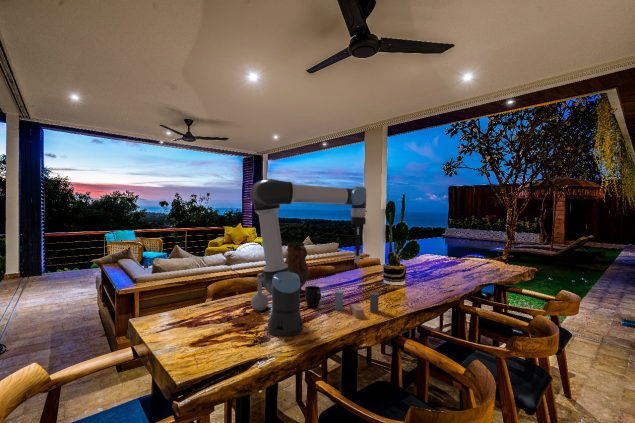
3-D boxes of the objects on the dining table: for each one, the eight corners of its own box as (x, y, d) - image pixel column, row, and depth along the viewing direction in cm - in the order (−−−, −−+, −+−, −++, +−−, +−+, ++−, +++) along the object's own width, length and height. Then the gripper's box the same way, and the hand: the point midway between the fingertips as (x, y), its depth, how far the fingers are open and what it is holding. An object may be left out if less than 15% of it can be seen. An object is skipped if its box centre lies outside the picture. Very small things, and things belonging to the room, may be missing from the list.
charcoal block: (378, 312, 149) (378, 295, 149) (370, 312, 149) (370, 294, 149) (377, 310, 153) (378, 292, 153) (369, 309, 153) (370, 292, 153)
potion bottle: (271, 308, 152) (272, 273, 152) (257, 312, 146) (257, 276, 145) (261, 304, 158) (261, 270, 158) (247, 308, 152) (247, 273, 151)
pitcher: (300, 286, 194) (301, 240, 193) (316, 295, 176) (317, 244, 175) (276, 289, 185) (277, 242, 185) (291, 299, 167) (292, 246, 167)
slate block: (342, 310, 151) (342, 292, 151) (334, 309, 152) (335, 292, 152) (342, 307, 155) (343, 290, 155) (335, 307, 156) (335, 290, 156)
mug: (312, 311, 148) (312, 292, 148) (302, 304, 159) (302, 286, 159) (326, 309, 152) (326, 290, 152) (315, 302, 163) (316, 285, 163)
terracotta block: (356, 311, 151) (363, 318, 142) (349, 311, 150) (355, 318, 141) (357, 303, 151) (363, 309, 142) (349, 304, 150) (355, 310, 141)
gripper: (366, 217, 147) (364, 264, 148) (365, 216, 160) (364, 259, 161) (350, 216, 148) (349, 263, 149) (351, 216, 161) (350, 259, 162)
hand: (357, 261), depth 155 cm, fingers closed
